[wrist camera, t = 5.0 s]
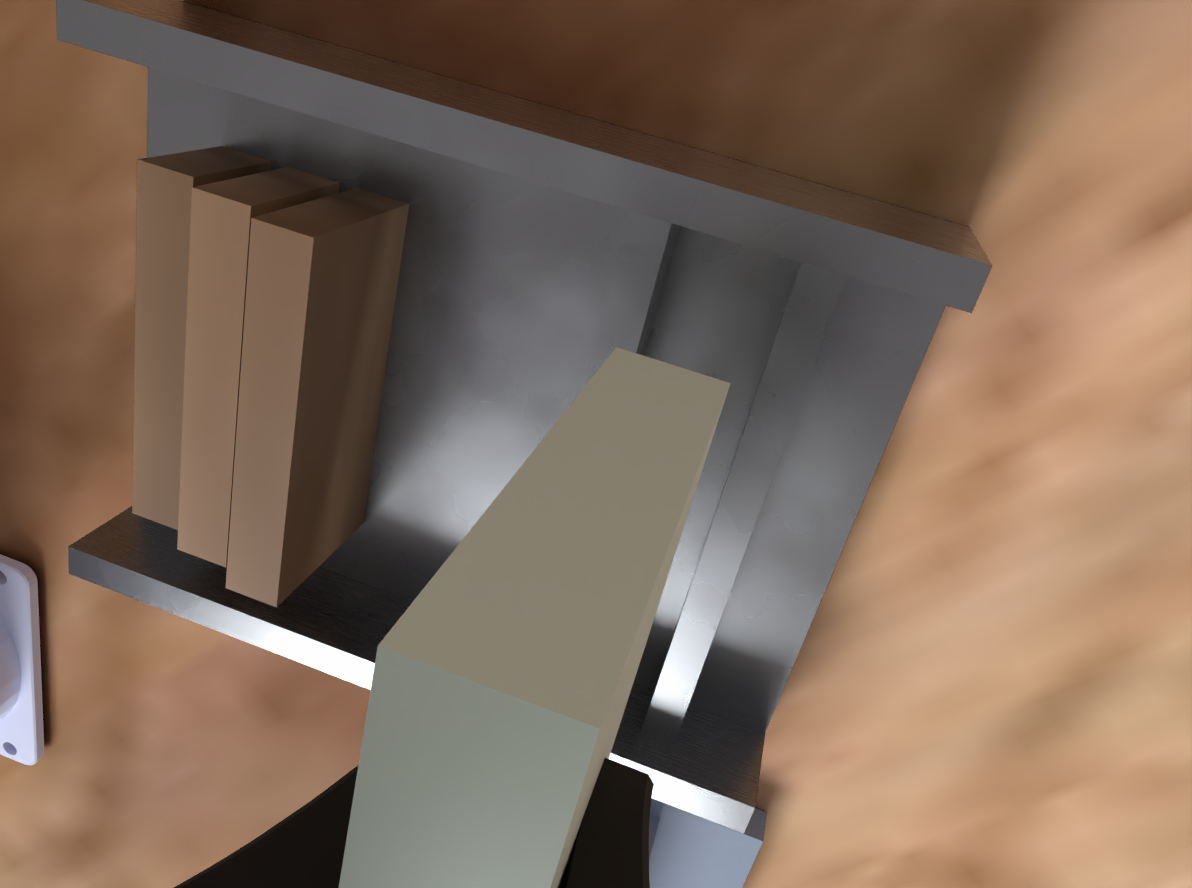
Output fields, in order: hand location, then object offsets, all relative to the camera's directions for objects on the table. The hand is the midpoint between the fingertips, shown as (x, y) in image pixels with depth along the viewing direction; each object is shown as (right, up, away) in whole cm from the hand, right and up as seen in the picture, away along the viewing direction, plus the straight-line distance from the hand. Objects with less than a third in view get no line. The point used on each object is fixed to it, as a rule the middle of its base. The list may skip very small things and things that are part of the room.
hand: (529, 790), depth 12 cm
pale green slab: (+1, +1, +3) cm, 3 cm away
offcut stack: (-6, +7, +9) cm, 13 cm away
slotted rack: (-2, +6, +10) cm, 11 cm away
